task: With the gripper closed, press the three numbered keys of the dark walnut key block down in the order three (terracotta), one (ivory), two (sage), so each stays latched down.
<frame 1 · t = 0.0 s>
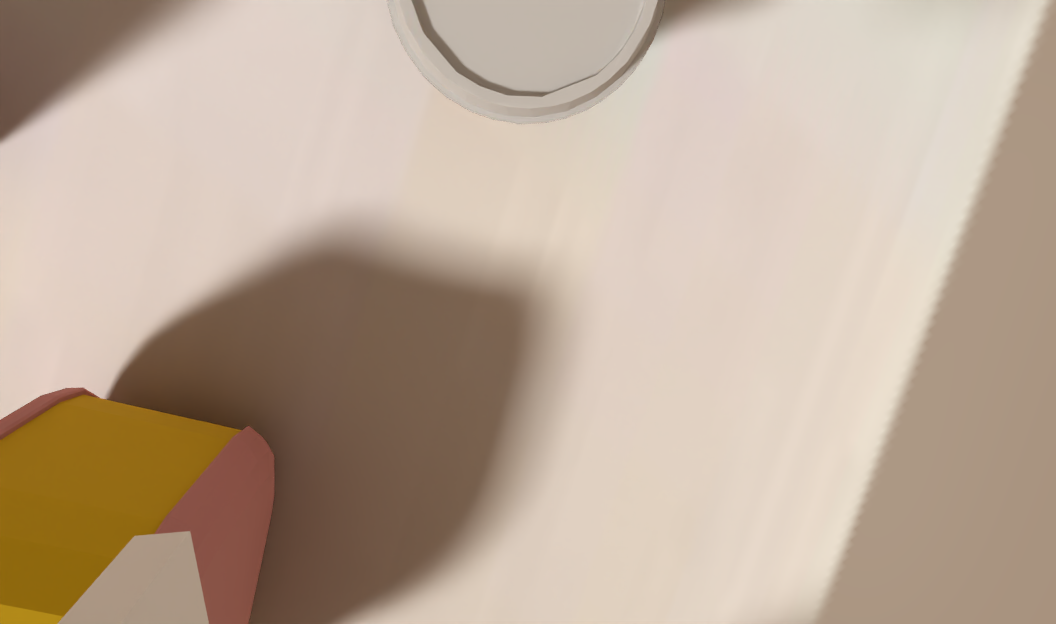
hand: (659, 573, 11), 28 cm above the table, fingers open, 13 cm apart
disposable coffee cup: (516, 23, 35), on the table
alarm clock: (171, 528, 41), on the table
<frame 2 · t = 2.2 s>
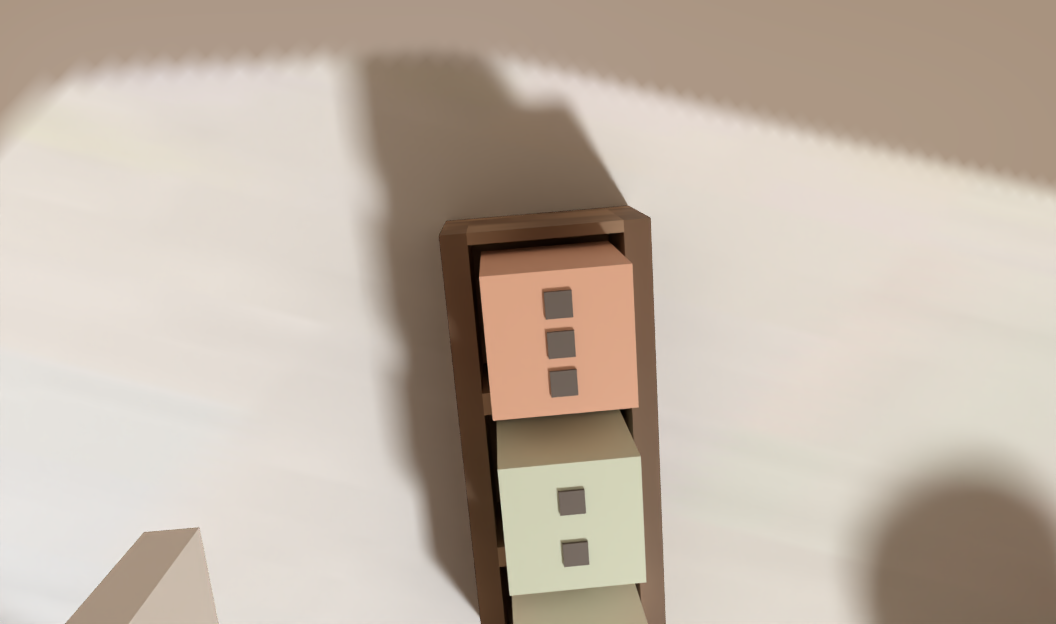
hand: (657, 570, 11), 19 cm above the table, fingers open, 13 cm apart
key three: (554, 324, 24), point 5 cm above the table, slide at 0.0 cm
key two: (566, 493, 25), point 5 cm above the table, slide at 0.0 cm
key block: (553, 431, 30), on the table
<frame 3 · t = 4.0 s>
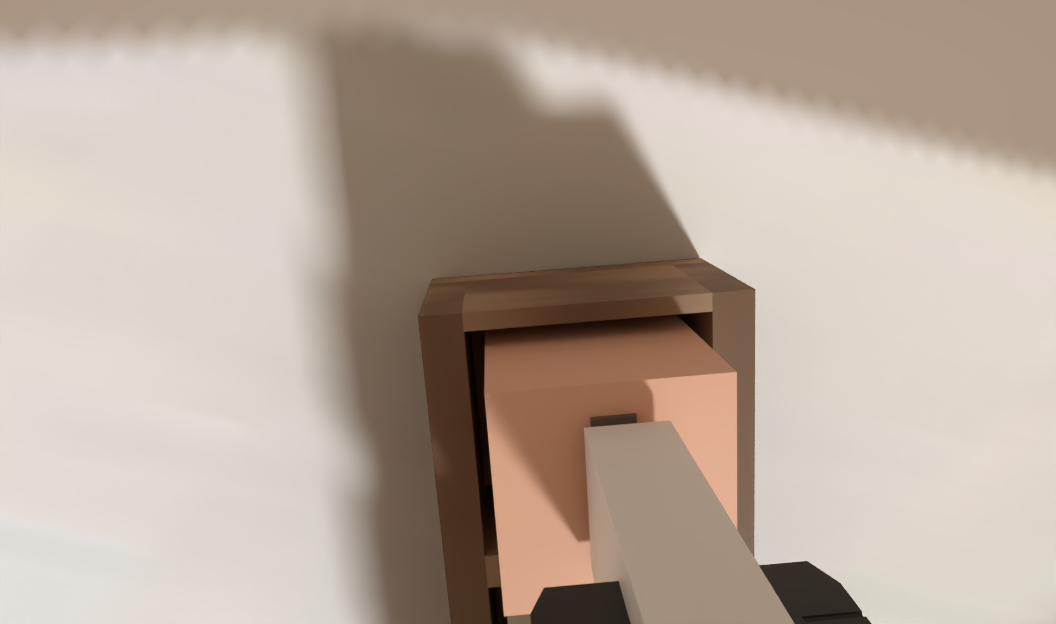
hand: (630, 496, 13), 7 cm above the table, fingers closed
key three: (598, 447, 15), point 5 cm above the table, slide at 0.8 cm, touching gripper
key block: (585, 575, 21), on the table
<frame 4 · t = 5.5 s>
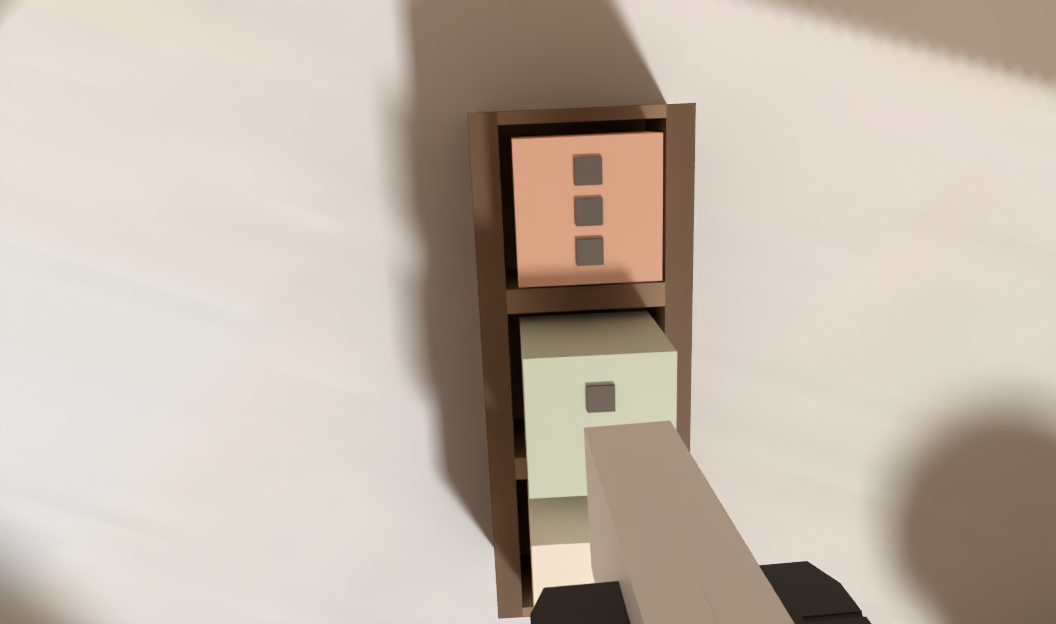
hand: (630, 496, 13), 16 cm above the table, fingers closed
key one: (595, 562, 25), point 5 cm above the table, slide at 0.0 cm
key three: (581, 203, 24), point 3 cm above the table, slide at 2.1 cm
key two: (592, 398, 24), point 5 cm above the table, slide at 0.0 cm
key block: (576, 348, 29), on the table
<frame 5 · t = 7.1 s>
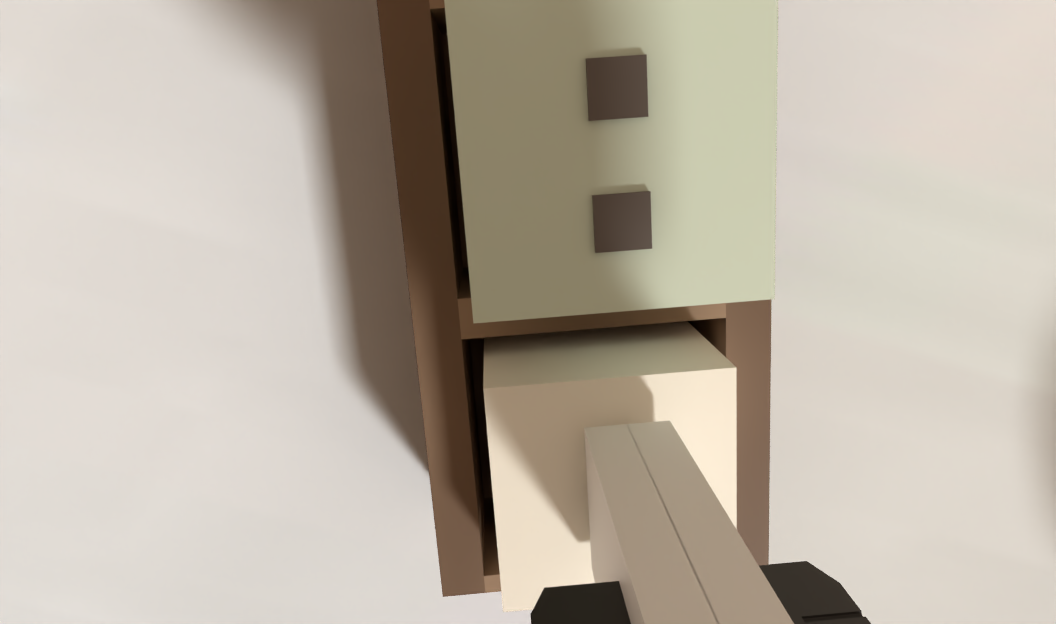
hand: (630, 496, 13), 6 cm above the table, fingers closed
key one: (597, 443, 15), point 4 cm above the table, slide at 1.7 cm, touching gripper
key two: (596, 152, 12), point 5 cm above the table, slide at 0.0 cm
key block: (563, 146, 17), on the table
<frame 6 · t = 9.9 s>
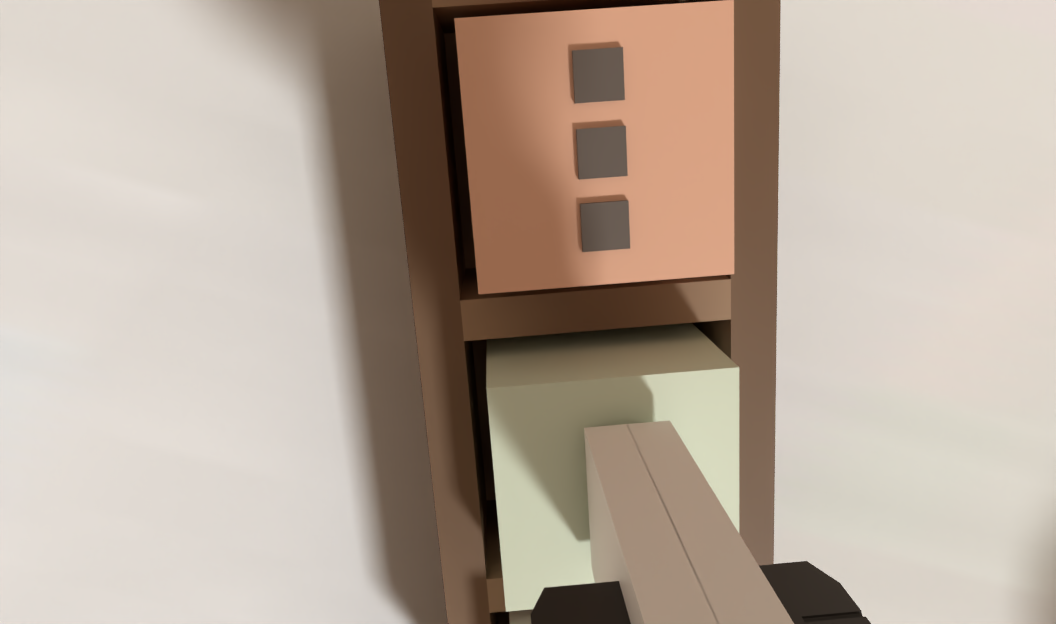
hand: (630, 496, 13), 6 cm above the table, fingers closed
key three: (584, 149, 14), point 3 cm above the table, slide at 2.1 cm
key two: (600, 443, 15), point 3 cm above the table, slide at 1.8 cm, touching gripper
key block: (580, 387, 19), on the table
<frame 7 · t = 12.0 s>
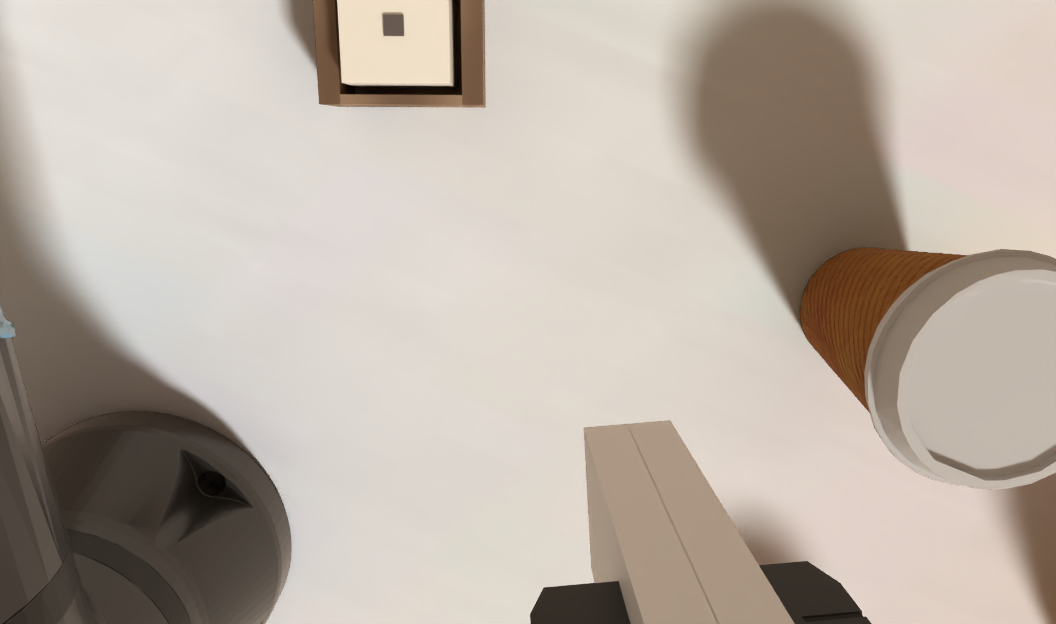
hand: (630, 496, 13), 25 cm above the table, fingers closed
key one: (401, 32, 32), point 3 cm above the table, slide at 2.1 cm
disposable coffee cup: (857, 305, 39), on the table
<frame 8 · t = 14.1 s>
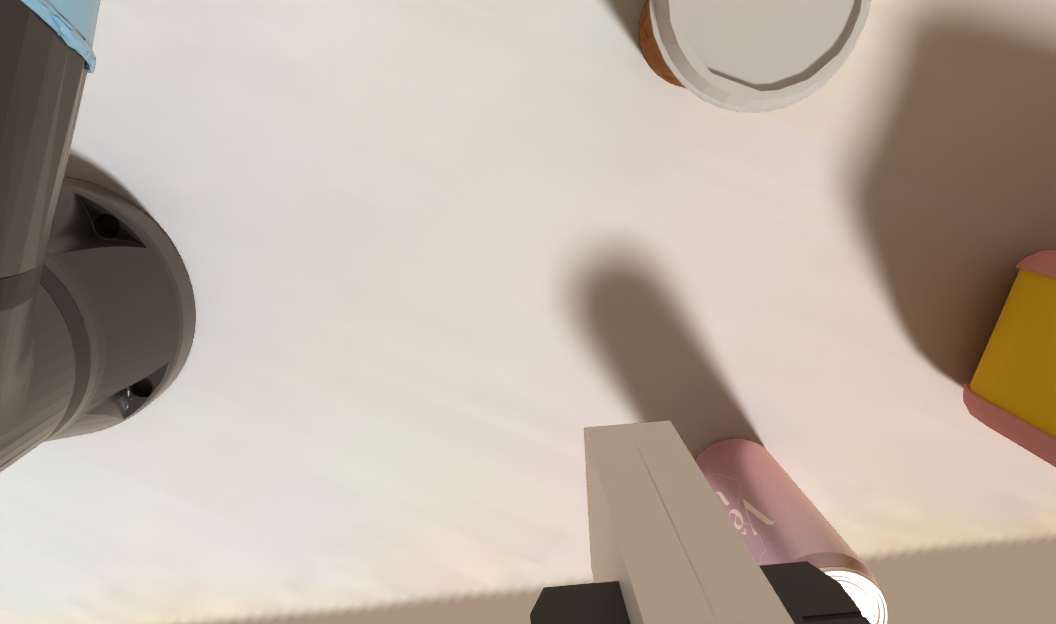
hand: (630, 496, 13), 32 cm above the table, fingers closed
disposable coffee cup: (692, 30, 42), on the table
beverage can: (728, 474, 49), on the table
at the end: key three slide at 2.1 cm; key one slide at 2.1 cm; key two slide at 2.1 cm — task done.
